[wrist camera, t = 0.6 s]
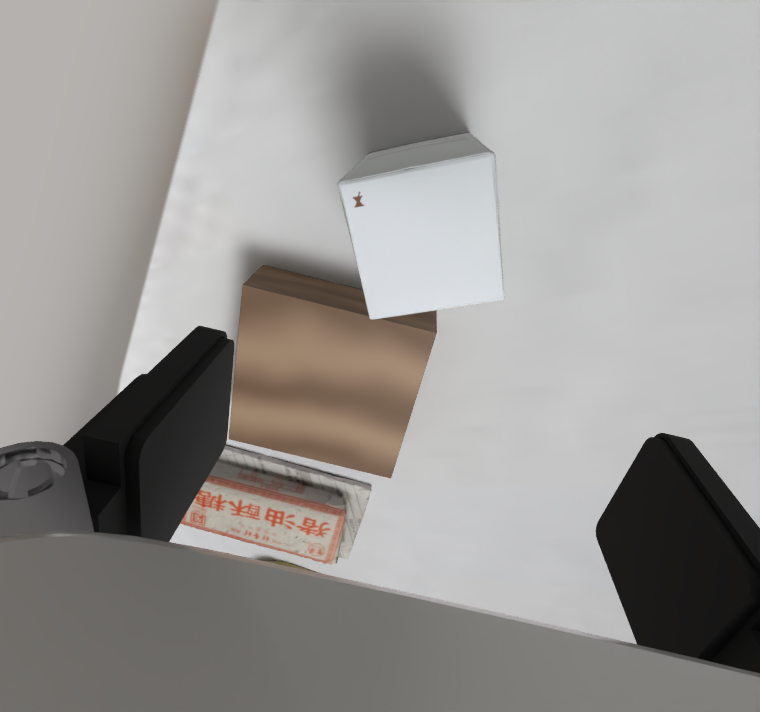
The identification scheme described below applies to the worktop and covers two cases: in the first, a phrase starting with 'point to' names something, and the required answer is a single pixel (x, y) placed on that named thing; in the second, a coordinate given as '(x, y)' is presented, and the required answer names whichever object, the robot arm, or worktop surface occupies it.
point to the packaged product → (280, 506)
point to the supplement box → (425, 226)
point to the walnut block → (325, 371)
